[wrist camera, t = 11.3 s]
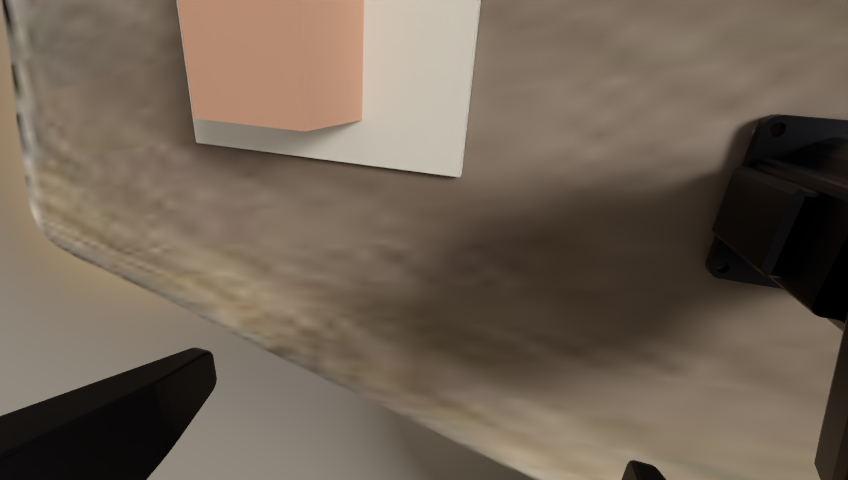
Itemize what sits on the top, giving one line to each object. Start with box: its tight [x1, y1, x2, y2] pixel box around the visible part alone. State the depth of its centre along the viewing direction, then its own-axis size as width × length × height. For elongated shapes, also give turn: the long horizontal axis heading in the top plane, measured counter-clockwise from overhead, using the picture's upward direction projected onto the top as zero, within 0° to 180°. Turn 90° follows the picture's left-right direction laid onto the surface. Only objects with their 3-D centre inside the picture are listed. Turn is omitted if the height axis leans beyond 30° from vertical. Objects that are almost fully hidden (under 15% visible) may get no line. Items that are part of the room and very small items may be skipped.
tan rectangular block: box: [178, 0, 364, 132], centre depth 15 cm, size 8×4×5 cm, turn 176°
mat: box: [176, 0, 481, 177], centre depth 17 cm, size 14×12×1 cm
